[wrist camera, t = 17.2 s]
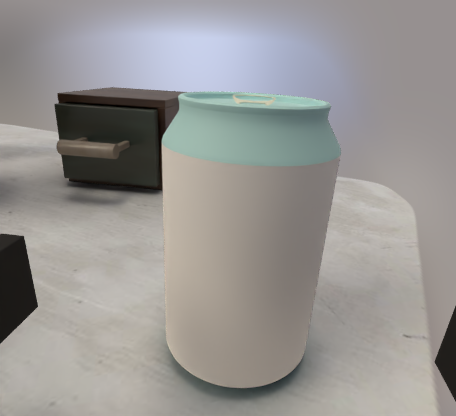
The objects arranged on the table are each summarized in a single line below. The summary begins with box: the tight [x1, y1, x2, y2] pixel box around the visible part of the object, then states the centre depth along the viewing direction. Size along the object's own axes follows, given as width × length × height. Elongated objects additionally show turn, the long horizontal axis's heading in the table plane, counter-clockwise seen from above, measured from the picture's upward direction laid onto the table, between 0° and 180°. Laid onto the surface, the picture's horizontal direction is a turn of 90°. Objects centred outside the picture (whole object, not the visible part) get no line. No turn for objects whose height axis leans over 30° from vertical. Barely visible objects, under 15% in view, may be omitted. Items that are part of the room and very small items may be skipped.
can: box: [162, 92, 341, 388], centre depth 15 cm, size 7×7×12 cm
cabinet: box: [58, 87, 187, 190], centre depth 42 cm, size 13×12×10 cm
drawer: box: [55, 103, 160, 187], centre depth 38 cm, size 16×10×8 cm, turn 172°
